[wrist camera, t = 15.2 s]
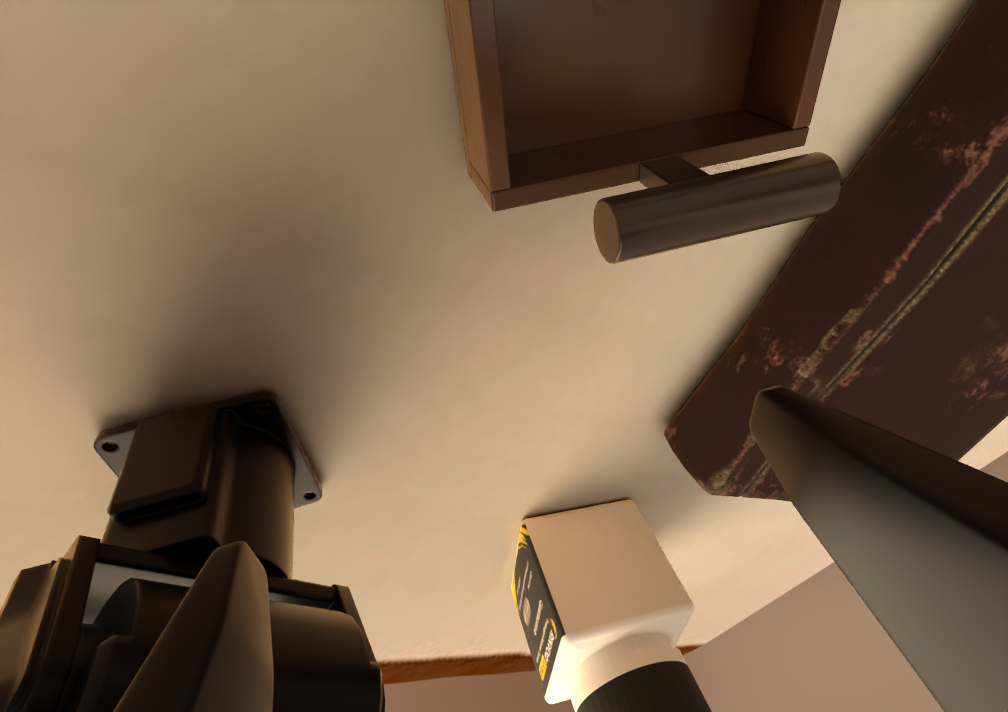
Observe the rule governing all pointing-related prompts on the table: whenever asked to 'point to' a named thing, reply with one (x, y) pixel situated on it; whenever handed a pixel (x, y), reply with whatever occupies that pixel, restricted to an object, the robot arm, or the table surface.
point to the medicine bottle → (603, 612)
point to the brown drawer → (645, 111)
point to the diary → (886, 285)
